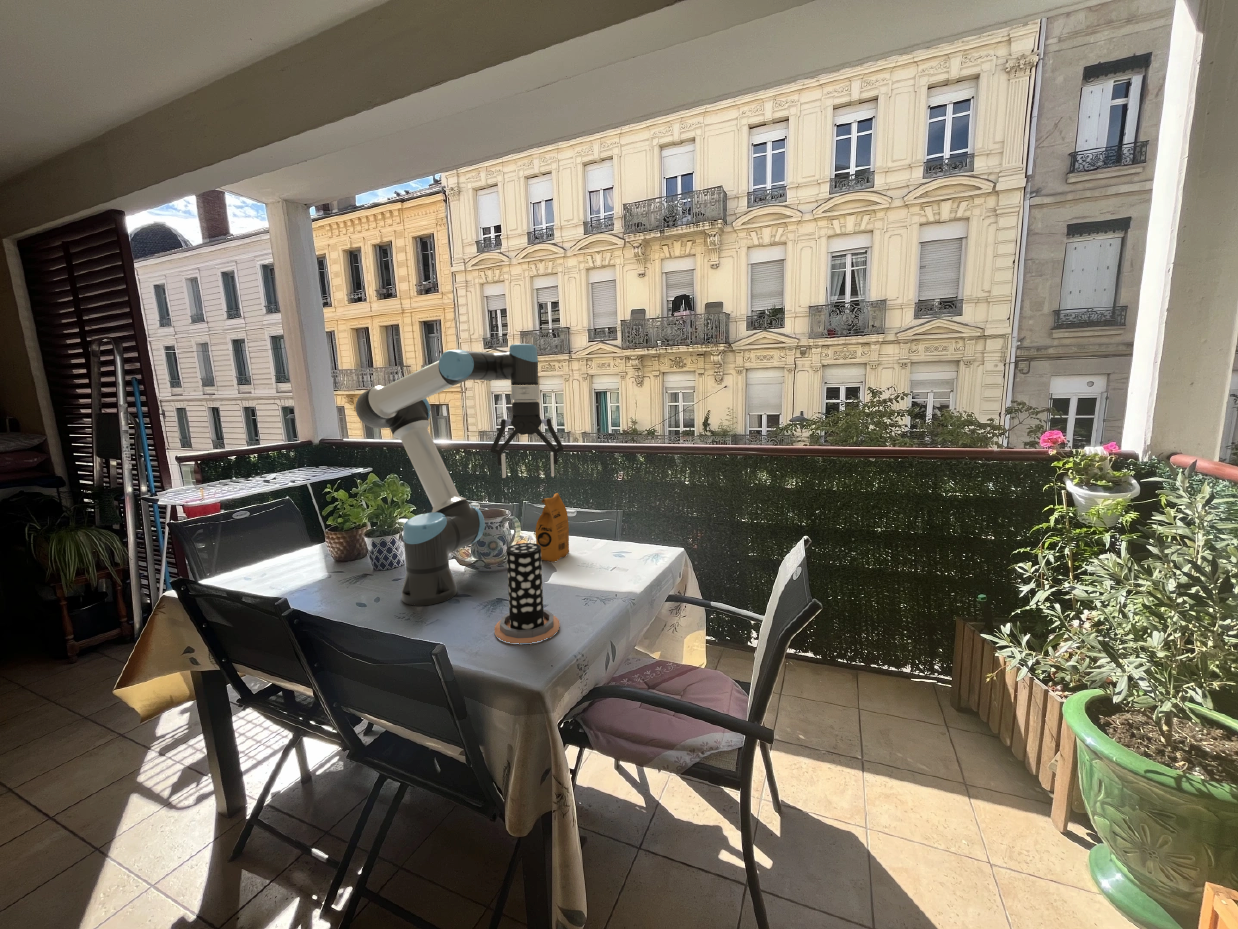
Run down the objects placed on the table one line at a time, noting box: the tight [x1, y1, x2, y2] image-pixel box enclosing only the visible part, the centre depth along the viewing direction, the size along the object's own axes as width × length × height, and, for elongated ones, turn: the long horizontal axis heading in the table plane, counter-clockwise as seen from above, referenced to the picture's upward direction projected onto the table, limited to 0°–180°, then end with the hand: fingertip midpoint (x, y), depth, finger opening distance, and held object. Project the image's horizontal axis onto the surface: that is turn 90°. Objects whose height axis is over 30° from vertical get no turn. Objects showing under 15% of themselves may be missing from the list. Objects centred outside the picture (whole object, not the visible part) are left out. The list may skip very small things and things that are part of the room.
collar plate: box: [494, 608, 561, 644], centre depth 127 cm, size 16×16×3 cm
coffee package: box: [534, 492, 570, 563], centre depth 180 cm, size 10×12×22 cm
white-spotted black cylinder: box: [505, 542, 544, 630], centre depth 126 cm, size 8×8×20 cm
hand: (528, 476), depth 145 cm, fingers open, 13 cm apart
